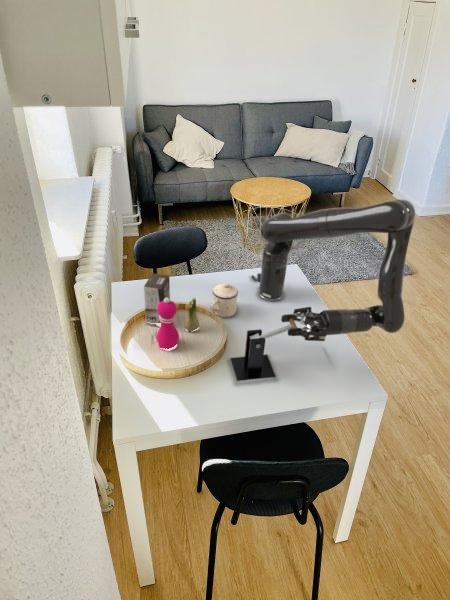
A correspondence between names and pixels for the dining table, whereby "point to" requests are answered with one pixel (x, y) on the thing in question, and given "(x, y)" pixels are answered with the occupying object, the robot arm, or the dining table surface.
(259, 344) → the bracket
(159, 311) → the pepper mill
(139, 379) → the dining table surface
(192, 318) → the fennel bulb
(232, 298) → the teacup with lid
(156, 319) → the coffee box
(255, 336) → the lever
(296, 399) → the dining table surface
